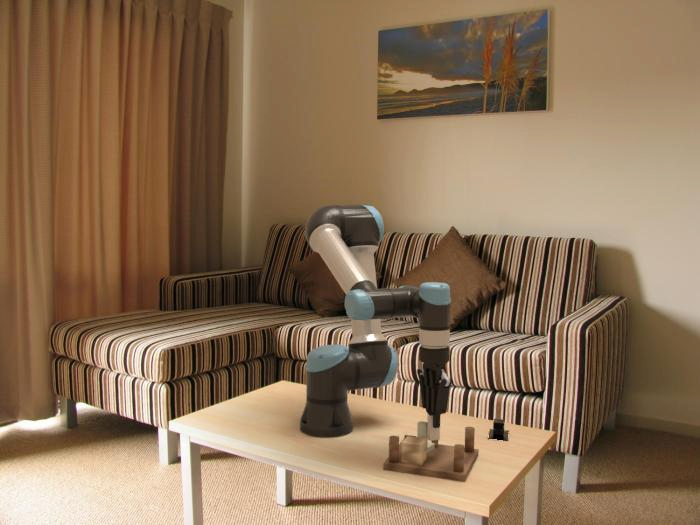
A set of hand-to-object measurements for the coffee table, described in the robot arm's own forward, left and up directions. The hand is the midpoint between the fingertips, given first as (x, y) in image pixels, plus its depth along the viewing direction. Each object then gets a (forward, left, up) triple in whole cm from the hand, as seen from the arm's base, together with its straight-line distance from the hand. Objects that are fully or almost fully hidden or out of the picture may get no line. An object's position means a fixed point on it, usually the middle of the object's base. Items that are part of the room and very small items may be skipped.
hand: (433, 439), depth 177 cm
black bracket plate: (+12, +28, -7) cm, 31 cm away
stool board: (0, +1, -6) cm, 6 cm away
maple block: (-4, -4, -5) cm, 7 cm away
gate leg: (-3, +3, -4) cm, 6 cm away
